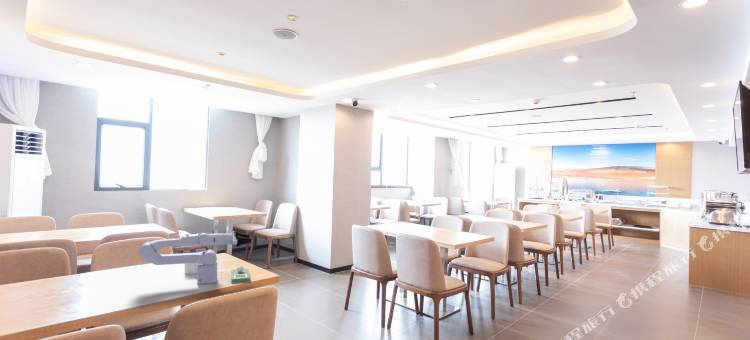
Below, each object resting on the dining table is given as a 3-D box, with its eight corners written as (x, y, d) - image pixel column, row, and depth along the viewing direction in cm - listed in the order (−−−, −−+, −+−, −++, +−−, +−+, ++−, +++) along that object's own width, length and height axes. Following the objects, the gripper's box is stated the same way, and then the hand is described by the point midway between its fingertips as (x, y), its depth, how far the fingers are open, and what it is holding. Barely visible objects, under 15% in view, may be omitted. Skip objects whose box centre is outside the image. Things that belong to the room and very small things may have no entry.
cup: (187, 275, 202) (187, 256, 202) (181, 270, 211) (181, 252, 211) (203, 272, 208) (203, 254, 208) (196, 268, 217) (196, 250, 217)
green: (231, 283, 190) (231, 279, 190) (231, 273, 207) (231, 269, 207) (249, 281, 194) (249, 277, 194) (248, 272, 211) (248, 268, 211)
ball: (236, 273, 201) (236, 266, 201) (236, 271, 204) (236, 265, 204) (243, 272, 202) (243, 266, 202) (243, 271, 206) (243, 264, 206)
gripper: (224, 234, 188) (252, 234, 194) (222, 228, 202) (249, 228, 207) (223, 248, 189) (251, 248, 195) (221, 241, 202) (248, 240, 208)
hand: (250, 238), depth 201 cm, fingers open, 7 cm apart
